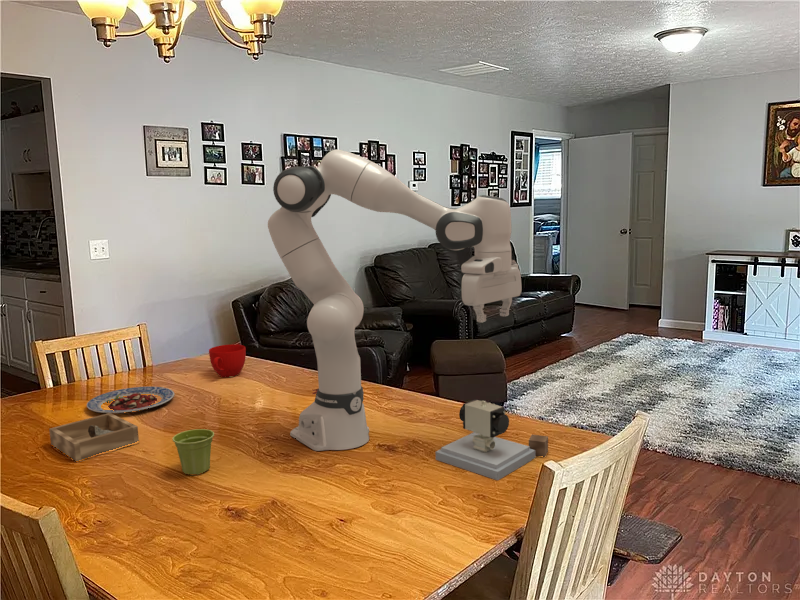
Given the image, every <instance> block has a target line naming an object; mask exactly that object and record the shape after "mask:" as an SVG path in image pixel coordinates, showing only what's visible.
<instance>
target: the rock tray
mask: <svg viewBox="0 0 800 600" xmlns="http://www.w3.org/2000/svg"><path fill="white" fill-rule="evenodd" d="M90 425H93V426H98V427H99V428H100V429H101V430H110V431H113V432H110V433H106V434H103V435H99V436H96V437H92V438H91V437H90V435H89V432H88V429H89V426H90ZM48 430H49V438H50V440H49V441H50V446H51V445H53V446H54V447H56V448H57V449H59V450H60V451H62V452H63V453H65V454H66V455H68V456H69V457H71V458H72V459H73V460H75V461H79V460H82V459H85V458H88V457H91V456H93V455H96V454H99V453H102V452H106V451H109V450H113V449H116V448H119V447H122V446H125V445H128V444H132V443H135V442H137V441H139V442H140V439H139V426H137V425H136V424H134V423H131V422H129V421H128V420H126V419H123V418H121V417H120V416H118V415H115V414H114V413H103V414H101V415H97V416H91V417H89V418H85V419H81V420H78V421H73V422H69V423H65V424H61V425H58V426H54V427H51V428H49V429H48ZM54 447H53V448H54ZM57 449H56V450H57ZM60 451H59V452H60ZM63 453H62V454H63ZM66 455H65V456H66ZM69 457H68V458H69ZM72 459H71V460H72ZM73 460H72V461H73ZM75 461H74V462H75Z"/></svg>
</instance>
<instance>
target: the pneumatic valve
mask: <svg viewBox="0 0 800 600" xmlns="http://www.w3.org/2000/svg"><path fill="white" fill-rule="evenodd" d="M505 410H506V408H505V406H501V405H498V404H495V403H491V402H487V401H486V400H478V399H476V398H475V399H473V400H470V401H467V402H465V403H463V404H462V405H461V407H460V409H459V411H458V412H459V413H458V414H459V419H460V421H461V422H462V429H463V430H467V431H469V432H472V433H473V432H475V433H476V434H478V433H479V435H475V436H473V444H474V446H473V447H474V449H476V450H479V451H482V452H485V453H486V452H487V451H489V450H493V449H494V447H495V441H494V440H493V439H494V437H498V436H499V435H502V434H504V433H506V431H507V430H508V428H509V425H510V417H509V415H507V414H506V411H505Z"/></svg>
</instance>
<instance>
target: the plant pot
mask: <svg viewBox="0 0 800 600" xmlns="http://www.w3.org/2000/svg"><path fill="white" fill-rule="evenodd" d="M214 436H215V432H214V431H213V430H211V429H206V428H196V429H195V428H194V429H189V430H185V431H181V432H179V433H177V434H175V435H174V436H172V442H173V443H174V445H175V447H176V449H177V452H178V453H177V454H178V458H179V461H180V467H181V469H182V473H183V472H184V473H185V474H184V473H183V474H184V475H186V474H187V475H189V474H197V475H201V474H200V473H202V474H203V472H204V473H205V472H206V471H209V470H210V467H211V466H210V465H211V454H212V453H211V451H212V442H213V438H214ZM208 469H209V470H208Z"/></svg>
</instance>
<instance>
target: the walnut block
mask: <svg viewBox="0 0 800 600" xmlns="http://www.w3.org/2000/svg"><path fill="white" fill-rule="evenodd" d="M528 446H530V449H533V450H535V457H537V456H543V457H542V458H544V457H545V456H547V454H548V453H549V452H548V451H549V436H547V435H542V434H541V435H540V434H530V437H529V439H528ZM545 458H546V457H545Z"/></svg>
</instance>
